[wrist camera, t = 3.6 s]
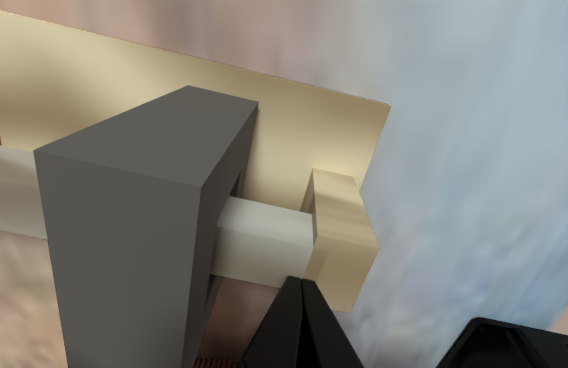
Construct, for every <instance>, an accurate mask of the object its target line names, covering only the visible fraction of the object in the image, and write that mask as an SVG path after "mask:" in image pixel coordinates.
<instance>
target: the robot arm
mask: <svg viewBox="0 0 568 368" xmlns="http://www.w3.org/2000/svg"><path fill="white" fill-rule="evenodd" d="M236 368H364V366H363V364H362V363H361V361H360V359H359V357H358V356H357V354H356V352H355V350H354V349H353V347H352V345H351V343H350V342H349V340H348V338H347V336H346V335H345V333H344V331H343V330H342V328H341V326H340V324H339V323H338V321H337V319H336V317H335V316H334V314H333V312H332V310H331V309H330V307H329V305H328V303H327V302H326V300H325V298H324V296H323V295H322V293H321V291H320V289H319V288H318V286H317V284H316V282H315V281H314V280H310V279H305V278H302V279H300V278H299V277H296V276H291V275H288V276H287V277H286V279H285V281H284V283H283V285H282V286H281V288H280V290H279V292H278V293H277V295H276V297H275V299H274V301H273V302H272V304H271V306H270V308H269V310H268V311H267V313H266V315H265V317H264V318H263V320H262V322H261V324H260V326H259V327H258V329H257V331H256V333H255V335H254V336H253V338H252V340H251V342H250V343H249V345H248V347H247V349H246V351H245V352H244V354H243V356H242V358H241V360H240V362H239V363H238V365H237V366H236ZM439 368H568V335H563V334H559V333H554V332H549V331H544V330H540V329H535V328H530V327H525V326H521V325H516V324H511V323H506V322H502V321H497V320H492V319H487V318H477V319H475V320H474V321H473V322H472V323H471V325H470V326H469V327H468V329H467V330H466V332H465V333H464V334H463V336H462V337H461V338H460V340H459V341H458V342H457V344H456V345H455V346H454V348H453V349H452V351H451V352H450V353H449V355H448V356H447V357H446V359H445V360H444V361H443V363H442V364H441V366H440V367H439Z"/></svg>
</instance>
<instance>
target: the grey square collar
mask: <svg viewBox="0 0 568 368" xmlns="http://www.w3.org/2000/svg"><path fill="white" fill-rule="evenodd" d="M258 104H259V102H257V101H253V100H249V99H245V98H241V97H236V96H232V95H228V94H224V93H219V92H215V91H211V90H207V89H203V88H198V87H194V86H190V85H187V86H185V87H182V88H180V89H178V90H175V91H173V92H170V93H168V94H166V95H163V96H161V97H159V98H156V99H154V100H151V101H149V102H147V103H144V104H142V105H139V106H137V107H135V108H132V109H130V110H127V111H125V112H123V113H120V114H118V115H116V116H113V117H111V118H108V119H106V120H104V121H101V122H99V123H96V124H94V125H92V126H89V127H87V128H84V129H82V130H80V131H77V132H75V133H73V134H70V135H68V136H65V137H63V138H61V139H58V140H56V141H53V142H51V143H49V144H46V145H44V146H41V147H39V148H37V149H34V150H33V153H34V159H35V166H36V172H37V178H38V184H39V190H40V196H41V203H42V209H43V215H44V221H45V227H46V234H47V240H48V246H49V252H50V258H51V264H52V271H53V277H54V283H55V289H56V295H57V302H58V308H59V314H60V320H61V326H62V332H63V339H64V345H65V351H66V357H67V363H68V368H193V365H194V362H195V359H196V356H197V353H198V350H199V347H200V344H201V341H202V338H203V335H204V332H205V329H206V326H207V323H208V320H209V317H210V314H211V311H212V308H213V305H214V302H215V299H216V296H217V293H218V290H219V287H220V284H221V281H222V278H223V276H219V275H214V274H210V268H211V261H212V254H213V247H214V240H215V234H216V227H217V220H218V218H219V216H220V214H221V212H222V210H223V207H224V205H225V203H226V201H227V199H228V197H229V196H232V197H236V198H242V192H243V187H244V181H245V176H246V170H247V165H248V159H249V154H250V148H251V143H252V137H253V132H254V126H255V121H256V115H257V110H258Z"/></svg>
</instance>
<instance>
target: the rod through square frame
mask: <svg viewBox="0 0 568 368" xmlns="http://www.w3.org/2000/svg"><path fill="white" fill-rule="evenodd" d="M187 85H190V86H194V87H198V88H203V89H207V90H211V91H215V92H219V93H224V94H228V95H232V96H236V97H241V98H245V99H249V100H253V101H257V102H259V104H258V110H257V115H256V121H255V126H254V132H253V137H252V143H251V148H250V154H249V159H248V165H247V170H246V176H245V181H244V187H243V192H242V198H236V197H232V196H229V197H228V199H227V201H226V203H225V205H224V207H223V210H222V212H221V214H220V216H219V218H218V220H217V227H216V234H215V240H214V247H213V254H212V261H211V268H210V274H214V275H219V276H223V277H228V278H233V279H238V280H242V281H247V282H252V283H257V284H262V285H266V286H271V287H276V288H281V286H282V285H283V283H284V281H285V279H286V277H287V276H288V275H291V276H296V277H299V278H300V279H302V278H305V279H310V280H314V281H315V282H316V284H317V286H318V288H319V289H320V291H321V293H322V295H323V296H324V298H325V300H326V302H327V303H328V305H329V307H330V309H331V310H335V311H340V312H345V313H350V311H351V309H352V307H353V305H354V303H355V300H356V298H357V296H358V294H359V292H360V290H361V287H362V285H363V283H364V281H365V279H366V276H367V274H368V272H369V270H370V268H371V266H372V263H373V261H374V259H375V257H376V255H377V252H378V250H379V246H378V243H377V240H376V238H375V235H374V232H373V229H372V227H371V224H370V221H369V218H368V216H367V213H366V210H365V207H364V205H363V202H362V199H361V196H360V194H359V190H360V187H361V185H362V182H363V179H364V177H365V174H366V171H367V169H368V166H369V163H370V161H371V158H372V156H373V153H374V150H375V148H376V145H377V142H378V140H379V137H380V134H381V132H382V129H383V127H384V124H385V121H386V119H387V116H388V113H389V111H390V108H391V106H389V105H388V104H386V103H381V102H377V101H373V100H369V99H365V98H361V97H357V96H352V95H348V94H344V93H340V92H336V91H332V90H328V89H324V88H319V87H315V86H311V85H307V84H303V83H299V82H295V81H290V80H286V79H282V78H278V77H274V76H270V75H266V74H262V73H257V72H253V71H249V70H245V69H241V68H237V67H233V66H228V65H224V64H220V63H216V62H212V61H208V60H204V59H200V58H195V57H191V56H187V55H183V54H179V53H175V52H171V51H166V50H162V49H158V48H154V47H150V46H146V45H142V44H138V43H133V42H129V41H125V40H121V39H117V38H113V37H109V36H104V35H100V34H96V33H92V32H88V31H84V30H80V29H76V28H71V27H67V26H63V25H59V24H55V23H51V22H47V21H42V20H38V19H34V18H30V17H26V16H22V15H18V14H13V13H9V12H5V11H1V10H0V230H3V231H8V232H12V233H17V234H22V235H27V236H32V237H36V238H41V239H46V240H47V234H46V227H45V221H44V215H43V209H42V203H41V196H40V190H39V184H38V178H37V172H36V166H35V159H34V153H33V150H34V149H37V148H39V147H41V146H44V145H46V144H49V143H51V142H53V141H56V140H58V139H61V138H63V137H65V136H68V135H70V134H73V133H75V132H77V131H80V130H82V129H84V128H87V127H89V126H92V125H94V124H96V123H99V122H101V121H104V120H106V119H108V118H111V117H113V116H116V115H118V114H120V113H123V112H125V111H127V110H130V109H132V108H135V107H137V106H139V105H142V104H144V103H147V102H149V101H151V100H154V99H156V98H159V97H161V96H163V95H166V94H168V93H170V92H173V91H175V90H178V89H180V88H182V87H185V86H187Z"/></svg>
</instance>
